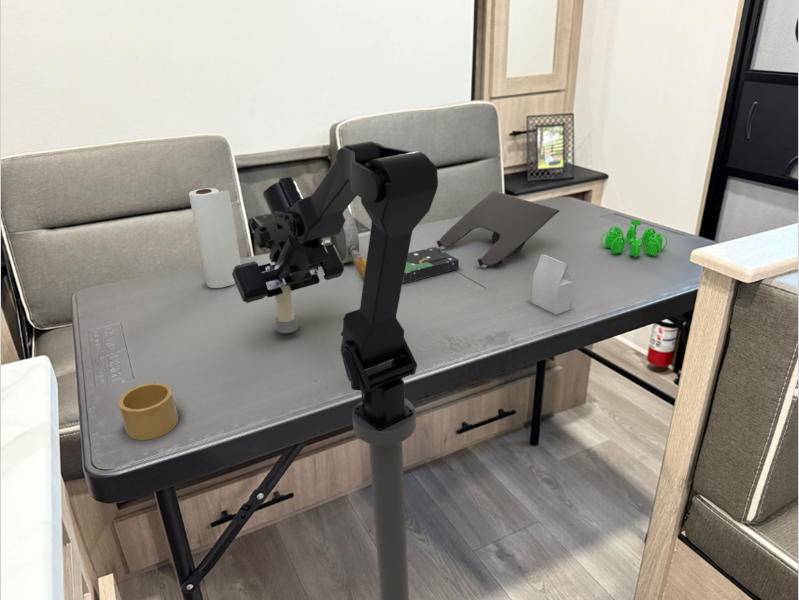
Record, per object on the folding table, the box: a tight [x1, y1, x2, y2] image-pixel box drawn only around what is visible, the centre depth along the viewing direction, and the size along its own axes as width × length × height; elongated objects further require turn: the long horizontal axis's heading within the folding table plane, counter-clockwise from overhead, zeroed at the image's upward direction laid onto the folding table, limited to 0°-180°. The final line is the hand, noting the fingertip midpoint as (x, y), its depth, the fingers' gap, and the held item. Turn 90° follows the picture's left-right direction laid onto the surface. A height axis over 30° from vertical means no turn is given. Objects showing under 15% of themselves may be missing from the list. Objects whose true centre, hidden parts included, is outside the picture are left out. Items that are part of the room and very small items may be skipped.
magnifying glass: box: [328, 207, 367, 279], centre depth 139 cm, size 13×3×25 cm
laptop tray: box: [436, 190, 560, 269], centre depth 148 cm, size 23×23×9 cm
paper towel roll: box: [188, 187, 242, 289], centre depth 131 cm, size 7×6×21 cm
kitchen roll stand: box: [274, 283, 299, 334], centre depth 110 cm, size 4×4×14 cm
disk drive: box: [402, 246, 460, 284], centre depth 139 cm, size 10×3×15 cm
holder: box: [117, 382, 179, 441], centre depth 88 cm, size 7×7×5 cm
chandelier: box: [600, 220, 668, 259], centre depth 144 cm, size 15×15×7 cm
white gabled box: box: [531, 253, 573, 315], centre depth 118 cm, size 4×7×10 cm, turn 31°
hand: (280, 291), depth 111 cm, fingers closed on kitchen roll stand, 3 cm apart
